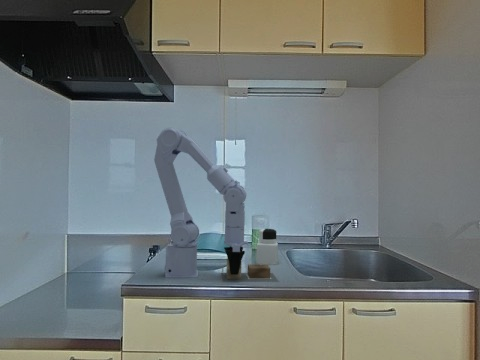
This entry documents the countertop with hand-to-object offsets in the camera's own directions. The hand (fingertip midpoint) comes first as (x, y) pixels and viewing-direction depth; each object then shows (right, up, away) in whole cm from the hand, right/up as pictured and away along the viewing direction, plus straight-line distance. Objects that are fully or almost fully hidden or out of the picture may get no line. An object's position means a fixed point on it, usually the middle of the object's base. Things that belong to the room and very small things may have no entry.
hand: (233, 272), depth 139 cm
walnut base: (+7, -1, +2) cm, 8 cm away
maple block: (0, -1, 0) cm, 1 cm away
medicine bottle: (+11, -2, +25) cm, 28 cm away
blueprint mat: (+4, -2, 0) cm, 5 cm away
